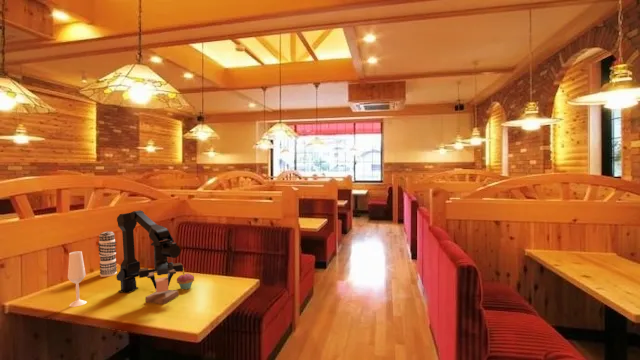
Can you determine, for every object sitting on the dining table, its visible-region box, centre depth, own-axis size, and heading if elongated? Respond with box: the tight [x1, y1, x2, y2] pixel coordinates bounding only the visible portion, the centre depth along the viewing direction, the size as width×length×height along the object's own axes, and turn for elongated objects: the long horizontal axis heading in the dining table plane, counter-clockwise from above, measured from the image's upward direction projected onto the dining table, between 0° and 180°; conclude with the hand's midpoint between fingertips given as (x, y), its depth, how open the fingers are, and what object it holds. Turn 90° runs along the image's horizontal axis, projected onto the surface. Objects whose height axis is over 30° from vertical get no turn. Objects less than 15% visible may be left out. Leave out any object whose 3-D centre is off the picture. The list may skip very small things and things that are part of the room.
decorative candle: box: [97, 230, 118, 278], centre depth 197 cm, size 9×9×25 cm
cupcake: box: [176, 267, 195, 290], centre depth 174 cm, size 9×8×12 cm
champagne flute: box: [67, 250, 88, 308], centre depth 155 cm, size 7×7×24 cm
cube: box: [155, 276, 169, 292], centre depth 159 cm, size 5×5×5 cm
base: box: [145, 289, 179, 305], centre depth 160 cm, size 10×10×2 cm
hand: (161, 287), depth 160 cm, fingers closed on cube, 5 cm apart
